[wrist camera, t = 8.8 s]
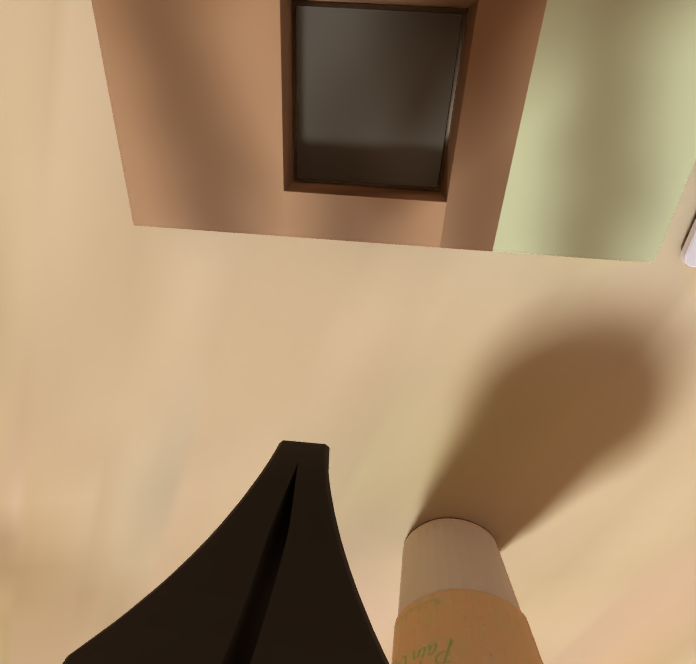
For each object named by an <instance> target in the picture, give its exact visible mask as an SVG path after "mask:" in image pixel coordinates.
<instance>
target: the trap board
mask: <svg viewBox="0 0 696 664" xmlns="http://www.w3.org/2000/svg"><path fill="white" fill-rule="evenodd" d="M309 1H329V2H349V3H369V4H389V5H409V6H429V7H449V8H468V12H467V19H466V25H465V32H464V39H463V45H462V52H461V59H460V66H459V72H458V79H457V86H456V92H455V99H454V106H453V113H452V119H451V126H450V133H449V139H448V146H447V153H446V160H445V166H444V173H443V180H442V186H441V191H430V190H415V189H400V188H385V187H370V186H355V185H340V184H326V183H311V182H296V181H294V175H293V67H292V0H92V5H93V11H94V16H95V21H96V27H97V32H98V37H99V43H100V48H101V53H102V59H103V64H104V69H105V75H106V80H107V85H108V91H109V96H110V101H111V106H112V112H113V117H114V122H115V128H116V133H117V138H118V144H119V149H120V154H121V160H122V165H123V170H124V176H125V181H126V186H127V192H128V197H129V202H130V208H131V213H132V218H133V224H134V225H136V226H150V227H164V228H178V229H192V230H205V231H219V232H233V233H247V234H261V235H274V236H288V237H302V238H316V239H330V240H343V241H357V242H371V243H385V244H399V245H412V246H426V247H440V248H454V249H468V250H481V251H495V252H509V253H523V254H537V255H550V256H564V257H578V258H592V259H606V260H619V261H633V262H647V263H654V261H655V259H656V256H657V254H658V251H659V249H660V246H661V244H662V242H663V239H664V237H665V234H666V232H667V229H668V227H669V224H670V222H671V220H672V217H673V215H674V212H675V210H676V207H677V205H678V203H679V200H680V198H681V195H682V193H683V190H684V188H685V185H686V183H687V181H688V178H689V176H690V173H691V171H692V168H693V166H694V163H695V161H696V0H309ZM461 20H462V14H451V13H431V12H411V11H391V10H372V9H352V8H332V7H312V6H296V72H297V178H307V179H321V180H336V181H351V182H366V183H381V184H396V185H411V186H426V187H437V186H438V179H439V172H440V165H441V158H442V151H443V144H444V137H445V131H446V124H447V117H448V110H449V103H450V96H451V89H452V82H453V75H454V68H455V61H456V55H457V48H458V41H459V34H460V27H461Z"/></svg>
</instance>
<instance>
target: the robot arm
mask: <svg viewBox="0 0 696 664" xmlns="http://www.w3.org/2000/svg"><path fill="white" fill-rule="evenodd" d="M680 258H681V261H682V262H683V263H685V264H686V265H688V266H691V267H696V219H695V221H694V223H693V226H692V228H691V230H690V233H689V235H688V237H687V239H686V242H685V244H684V246H683V249H682V251H681V255H680ZM328 470H329V447H328V446H327V445H326V444H317V443H306V442H295V441H284V440H283V441H282V442H281V443H279V445H278V447H277V449H276V451H275V452H274V454H273V456H272V457H271V459H270V460H269V462H268V463H267V465H266V466H265V468H264V469H263V471H262V472H261V474H260V475H259V477H258V478H257V479H256V481H255V482H254V483H253V485H252V486H251V487H250V489H249V490H248V492H247V493H246V494H245V496H244V497H243V498H242V499H241V501H240V502H239V503H238V504H237V506H236V507H235V508H234V509H233V510H232V512H231V513H230V514H229V515H228V516H227V518H226V519H225V520H224V521H223V522H222V524H221V525H220V526H219V527H218V528H217V529H216V530H215V531H214V532H213V534H212V535H211V536H210V537H209V538H208V539H207V540H206V541H205V542H204V543H203V544H202V545H201V546H200V547H199V548H198V549H197V550H196V551H195V552H194V553H193V554H192V555H191V556H190V557H189V558H188V559H187V560H186V561H185V562H184V563H183V564H182V565H181V566H180V567H179V568H178V569H177V570H176V571H175V572H174V573H172V574H171V575H170V576H169V577H168V578H167V579H166V580H165V581H164V582H163V583H161V584H160V585H159V586H158V587H157V588H156V589H154V590H153V591H152V592H151V593H150V594H148V595H147V596H146V597H145V598H144V599H142V600H141V601H140V602H139V603H137V604H136V605H135V606H134V607H133V608H131V609H130V610H129V611H128V612H127V613H125V614H124V615H123V616H122V617H120V618H119V619H118V620H116V621H115V622H114V623H112V624H111V625H110V626H108V627H107V628H106V629H104V630H103V631H102V632H100V633H99V634H97V635H96V636H95V637H93V638H92V639H91V640H89V641H88V642H86V643H85V644H84V645H82V646H81V647H80V648H78V649H77V650H75V651H74V652H73V653H71V654H70V655H69V656H68V657H67V658H66V659H65V661H64V662H63V664H389V662H388V660H387V658H386V656H385V654H384V652H383V650H382V648H381V645H380V643H379V641H378V639H377V637H376V634H375V632H374V630H373V628H372V625H371V623H370V620H369V618H368V615H367V613H366V611H365V608H364V606H363V603H362V601H361V598H360V596H359V593H358V591H357V588H356V585H355V582H354V579H353V576H352V574H351V571H350V568H349V565H348V561H347V558H346V555H345V552H344V548H343V545H342V541H341V538H340V534H339V530H338V526H337V522H336V517H335V513H334V507H333V502H332V496H331V490H330V483H329V473H328Z"/></svg>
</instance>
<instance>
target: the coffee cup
mask: <svg viewBox="0 0 696 664" xmlns="http://www.w3.org/2000/svg"><path fill="white" fill-rule="evenodd" d="M392 664H543V662H542V659H541V657H540V654H539V651H538V648H537V646H536V643H535V640H534V637H533V635H532V632H531V629H530V627H529V624H528V621H527V618H526V617H525V615H524V614H523V613H522V612H521V610H520V607H519V605H518V602H517V599H516V596H515V594H514V591H513V588H512V585H511V583H510V580H509V577H508V574H507V572H506V569H505V566H504V563H503V561H502V558H501V555H500V552H499V550H498V547H497V544H496V541H495V539H494V538H493V537H492V535H491V534H490V533H489V532H488V531H486V530H485V529H484V528H482V527H480V526H478V525H477V524H474V523H472V522H469V521H465V520H462V519H455V518H441V519H436V520H432V521H429V522H427V523H424V524H423V525H421V526H419V527H418V528H416V529H415V530H414V531H413V532H412V533H411V534H410V535H409V536H408V537H407V539H406V541H405V543H404V548H403V557H402V570H401V583H400V596H399V609H398V617H397V619H396V623H395V627H394V640H393V653H392Z"/></svg>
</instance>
